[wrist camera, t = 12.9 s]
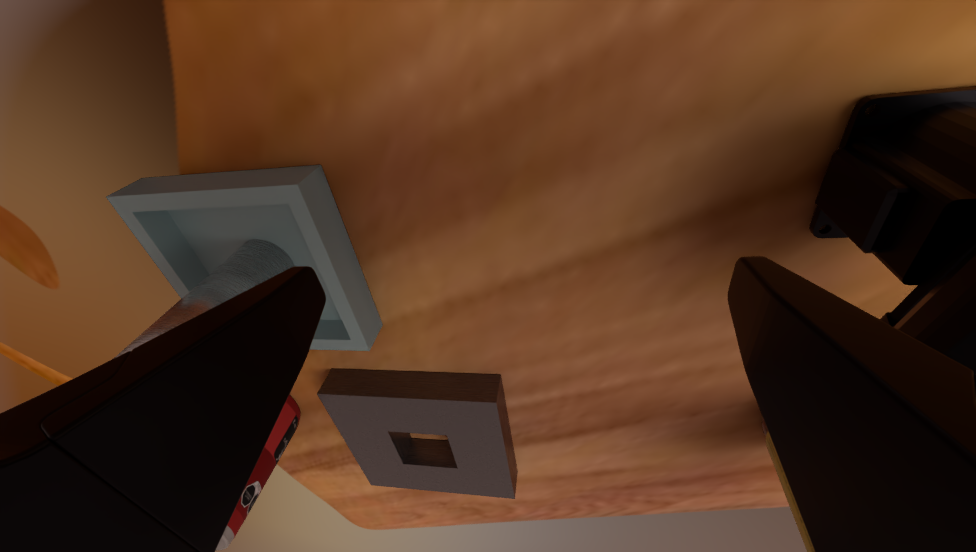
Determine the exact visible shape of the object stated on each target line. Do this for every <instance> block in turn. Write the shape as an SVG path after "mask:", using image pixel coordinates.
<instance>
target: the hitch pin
mask: <svg viewBox="0 0 976 552" xmlns="http://www.w3.org/2000/svg"><path fill="white" fill-rule="evenodd" d="M294 266H295V265H294V263H293V261H292V259H291V258H290V256H289V255H288V254H287V253H286V252H285V251H284V250H283V249H281V248H280V247H279V246H277V245H275V244H273V243H271V242H269V241H266V240H261V239H252V240H249V241H247V242H245V243H244V244H243V245H242V246H241V247H240V248H239V249H238V250H236V251H235V252H234V253H233V254H232V255H231V256H230V257H228V258H227V259H226V260H225V261H224V262H223V263H222V264H220V265H219V266H218V267H217V268H216V269H215V270H214V271H213V272H211V273H210V274H209V275H208V276H207V277H206V278H205V279H203V280H202V281H201V282H200V283H199V284H198V285H197V286H195V287H194V288H193V289H192V290H191V291H190V292H189V293H188V294H186V295H185V296H184V297H183V298H182V299H181V300H180V301H178V302H177V303H176V304H175V305H174V306H173V307H172V308H171V309H169V310H168V311H167V312H166V313H165V314H164V315H163V316H161V317H160V318H159V319H158V320H157V321H156V322H155V323H154V324H152V325H151V326H150V327H149V328H148V329H147V330H145V331H144V332H143V333H142V334H141V335H140V336H139V337H137V338H136V339H135V340H134V341H133V342H132V343H131V344H130V345H129V346H127V347H126V348H125V349H124V350H123V351H122V352H121V353H119V354H118V355H117V356H116V357H118V356H120V355H122V354H124V353H126V352H128V351H132V350H133V349H134V348H136V347H138V346H140V345H142V344H143V343H145V342H147V341H149V340H151V339H153V338H155V337H157V336H159V335H161V334H163V333H165V332H167V331H169V330H171V329H173V328H175V327H176V326H178V325H180V324H182V323H184V322H186V321H188V320H190V319H192V318H194V317H196V316H198V315H200V314H202V313H204V312H206V311H208V310H209V309H211V308H213V307H215V306H217V305H219V304H221V303H223V302H225V301H227V300H229V299H231V298H233V297H235V296H237V295H239V294H241V293H243V292H244V291H246V290H248V289H250V288H252V287H254V286H256V285H258V284H260V283H262V282H264V281H266V280H268V279H270V278H272V277H274V276H276V275H277V274H279V273H281V272H283V271H285V270H287V269H289V268H291V267H294ZM116 357H115V358H116Z"/></svg>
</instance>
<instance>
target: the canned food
mask: <svg viewBox="0 0 976 552" xmlns="http://www.w3.org/2000/svg"><path fill="white" fill-rule="evenodd" d="M299 419H300V410H299V407H298V405H297V404H296V402H295V400H294V399H293V398H292V397H291V396H290V395H289V396H288V398H287V400H286V402H285V404H284V407H283V409H282V411H281V413H280V415H279V417H278V419H277V421H276V423H275V426H274V428H273V430H272V432H271V434H270V436H269V438H268V440H267V442H266V445H265V447H264V449H263V451H262V453H261V455H260V457H259V459H258V461H257V464H256V466H255V468H254V470H253V472H252V474H251V476H250V478H249V480H248V483H247V485H246V487H245V489H244V491H243V493H242V495H241V497H240V499H239V502H238V504H237V506H236V508H235V510H234V512H233V514H232V516H231V519H230V521H229V523H228V525H227V527H226V529H225V531H224V533H223V535H222V538H221V540H220V542H219V544H218V546H217V548H216V550H223V549H225V548H227V547H228V546H229V544H230V543H231V541H232V540H233V539H234V537H235V535H236V534H237V532H238V530H239V529H240V527H241V525H242V524H243V522H244V520H245V519H246V517H247V515H248V513H249V512H250V510H251V508H252V506H253V504H254V503H255V501H256V499H257V497H258V496H259V494H260V492H261V490H262V489H263V487H264V485H265V484H266V482H267V480H268V478H269V476H270V475H271V473H272V471H273V469H274V468H275V466H276V464H277V462H278V461H279V459H280V457H281V455H282V454H283V452H284V450H285V448H286V447H287V445H288V443H289V441H290V440H291V438H292V436H293V434H294V433H295V431H296V429H297V427H298V424H299Z"/></svg>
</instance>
